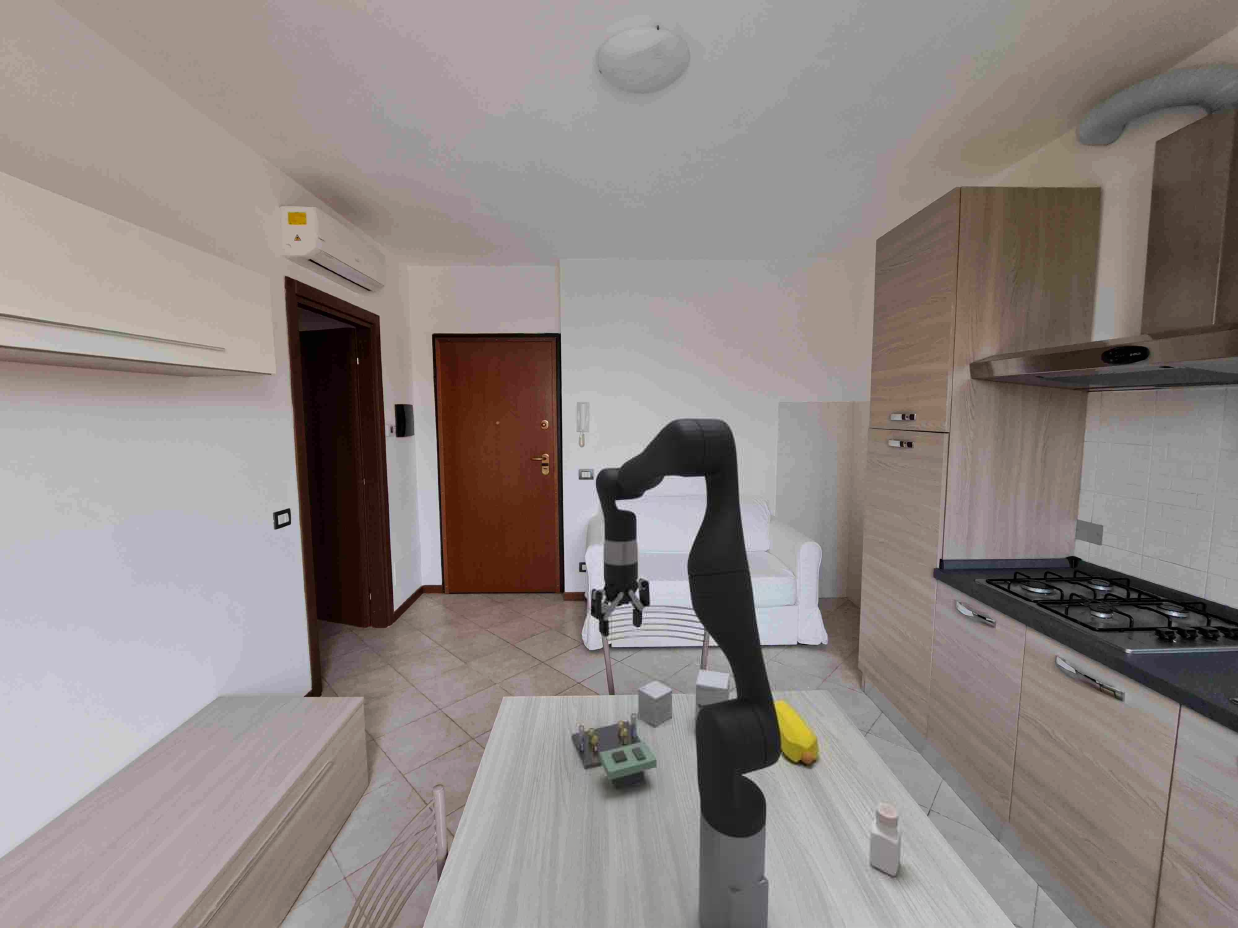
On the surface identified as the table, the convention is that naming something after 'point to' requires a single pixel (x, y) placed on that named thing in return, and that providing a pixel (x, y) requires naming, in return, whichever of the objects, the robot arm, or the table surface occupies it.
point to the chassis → (604, 740)
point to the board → (627, 760)
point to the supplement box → (711, 689)
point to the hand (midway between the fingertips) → (621, 630)
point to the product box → (655, 703)
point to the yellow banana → (795, 735)
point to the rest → (628, 780)
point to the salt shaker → (885, 840)
